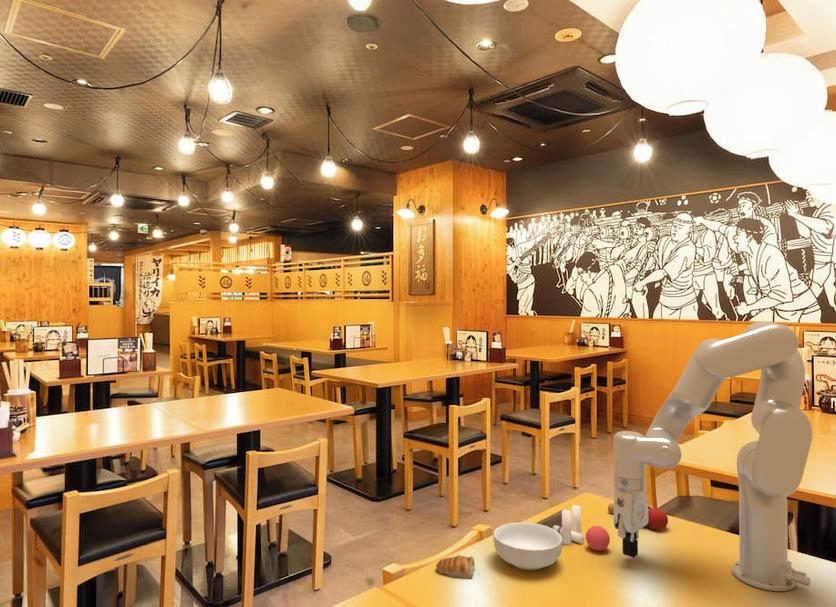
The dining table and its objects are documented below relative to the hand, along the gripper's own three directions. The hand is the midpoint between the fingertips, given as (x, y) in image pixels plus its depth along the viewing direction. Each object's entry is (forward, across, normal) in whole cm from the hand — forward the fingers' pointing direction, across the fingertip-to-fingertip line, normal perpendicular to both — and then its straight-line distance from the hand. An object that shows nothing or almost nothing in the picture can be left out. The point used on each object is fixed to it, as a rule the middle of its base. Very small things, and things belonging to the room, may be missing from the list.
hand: (630, 554), depth 136 cm
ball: (-2, 0, +9) cm, 9 cm away
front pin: (0, 0, +13) cm, 13 cm away
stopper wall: (+2, 0, +24) cm, 24 cm away
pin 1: (+2, -2, +16) cm, 17 cm away
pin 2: (+2, +2, +16) cm, 17 cm away
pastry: (+2, -35, +26) cm, 44 cm away
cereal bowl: (+2, -19, +18) cm, 26 cm away
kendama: (+2, +24, +10) cm, 26 cm away
